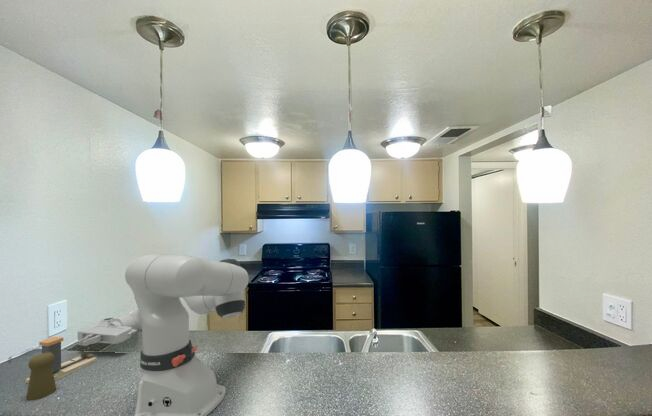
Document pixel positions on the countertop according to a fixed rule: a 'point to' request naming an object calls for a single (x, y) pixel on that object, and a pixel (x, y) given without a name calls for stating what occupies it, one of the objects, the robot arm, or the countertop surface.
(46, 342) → the fader knob
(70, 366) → the fader board
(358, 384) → the countertop surface
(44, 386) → the cork
